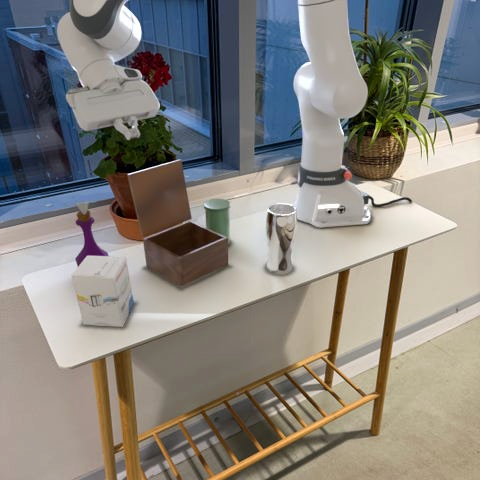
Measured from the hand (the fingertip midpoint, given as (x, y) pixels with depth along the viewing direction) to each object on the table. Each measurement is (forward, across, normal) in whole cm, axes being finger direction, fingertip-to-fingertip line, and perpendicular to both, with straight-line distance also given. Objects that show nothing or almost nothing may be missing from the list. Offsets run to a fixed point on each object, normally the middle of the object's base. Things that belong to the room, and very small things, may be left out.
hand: (134, 137), depth 110 cm
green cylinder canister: (+28, +14, +10) cm, 33 cm away
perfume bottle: (+22, -18, +16) cm, 33 cm away
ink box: (+34, -24, +5) cm, 42 cm away
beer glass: (+42, +15, -4) cm, 45 cm away
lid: (+15, 0, +2) cm, 15 cm away
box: (+31, 0, +8) cm, 32 cm away
